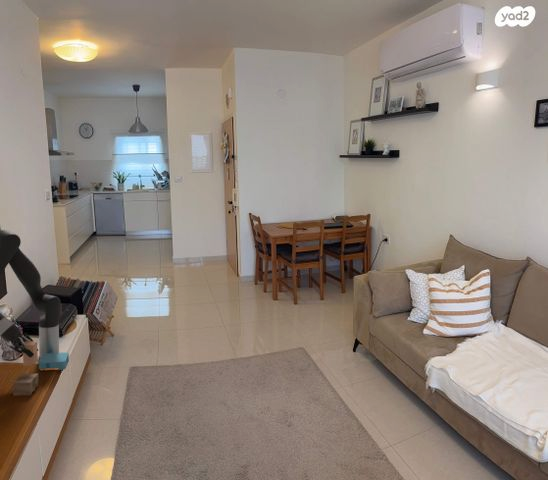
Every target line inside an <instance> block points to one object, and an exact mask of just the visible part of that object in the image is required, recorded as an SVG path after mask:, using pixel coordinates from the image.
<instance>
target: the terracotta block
mask: <svg viewBox="0 0 548 480" xmlns="http://www.w3.org/2000/svg"><path fill="white" fill-rule="evenodd" d="M25 344H26V345H25V346H26V347H27V348H28V349H29V350H30V351H31V352H32V353H34V355H33V356H32V357H31V358H30V357H29V356H27V355H26V354H25V353H22V364H23V365H22V366H34V365H36V364H37V362H39V359H38V354H39V353H38V351H37V349H38V340H33V341H30V340H29V342H25ZM23 348H24V347H23Z"/></svg>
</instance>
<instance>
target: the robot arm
mask: <svg viewBox="0 0 548 480" xmlns="http://www.w3.org/2000/svg"><path fill="white" fill-rule="evenodd" d="M21 243H22V241H21V237H20V236H19V235H18V234H16V233H14V232H12V231H10V230H7V229H0V278H1V277H2V275H3V273H4V271H5V269H6V268H7V266H8V265H9V266H10V268H11V270H12V271H13V273H14V274H15V277H16V278H17V279H18V281H19V282H20V284H21V285H22V286H23V287H24V290H25V291H26V293H27V294H28V295H29V297H30V299H31V301H32V303H33V305H34V308H36V310H37V311H39V312H41V313H45V315H44V318H41V319H40V320H39V322H38V337H39V339H38V344H39V345H38V346H39V347H38V348H37V352H39V353H38V354H39V359H41V358H42V356H43V354H46V353H60V342H59V341H60V332H59V331H60V330H59V329H60V324H59V322H60V319H61V309H62V306H61V305H62V304H61V303H62V302H61V299H60V298H59V297H58V296H55V295H52V294H47V292H45V291H44V289H43V288H42V285H41V280H42V279H41V278H42V277H41V273H40V272H39V269H37V267H36V266H35V264H34V263H33V261H31V259H30V258H29V257H28V256H26V254H25V253H24V252H23V251H22V250H21V249H20V247H21ZM0 338H2V339H3V340H4V341H5V342H7V343H8V342H10V343H11V345H10V346H9V347H10V349H12V350H13V351H16V352H17V353H18V354H23V353H25V354H26V355H27V356H29V357H30V358H31V357H32V356H33V355H34V353H32V352H31V351H30V350H29V349H28V348H27V347H26V346H25V345H26V344H25V342H29V341H34V340H33V339H32V337H31V336H30V335H29V334H28V333H27V332H24V333H21V328H19V327H18V326H17V325H16V324H15V323H13V322H12V320H11V319H8V317H6V316H5V315H3V314H2V313H1V312H0ZM23 347H24V348H23Z"/></svg>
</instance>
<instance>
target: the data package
mask: <svg viewBox="0 0 548 480" xmlns="http://www.w3.org/2000/svg"><path fill="white" fill-rule="evenodd" d="M69 355H70V353H69V352H59V353H46V354H43V356H42V358H41V359H40V358H39V359H40V360H38V370H39V369H46V368H59V370H58V371H64V370H66V369H67V366H68V363H69V359H70V357H69Z"/></svg>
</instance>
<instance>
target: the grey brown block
mask: <svg viewBox="0 0 548 480" xmlns="http://www.w3.org/2000/svg"><path fill="white" fill-rule="evenodd" d="M37 385H38V386H39V373H21V374H20V375H19V376H18V377H17V378H16V379H15V380H14V381H13V383H12V392H13V393H12V395H13V396H31V395H32V394H33V393H34V392H35V391H36V389H37V388H38V387H37ZM36 387H37V388H36ZM35 388H36V389H35ZM33 391H34V392H33ZM32 392H33V393H32Z"/></svg>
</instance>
